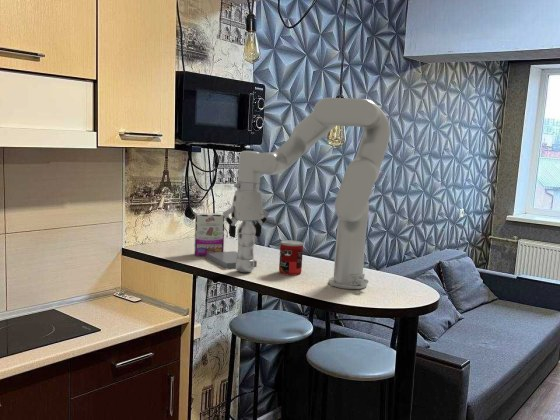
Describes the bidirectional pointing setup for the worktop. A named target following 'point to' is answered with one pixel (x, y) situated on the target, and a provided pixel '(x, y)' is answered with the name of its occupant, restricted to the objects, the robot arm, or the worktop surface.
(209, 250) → the candy bar box
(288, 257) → the canned food
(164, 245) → the worktop surface
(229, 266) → the slate board
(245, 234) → the plastic bottle
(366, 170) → the robot arm
